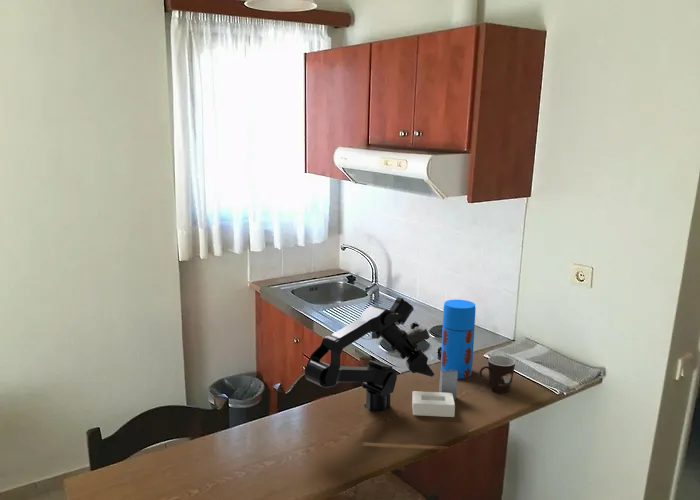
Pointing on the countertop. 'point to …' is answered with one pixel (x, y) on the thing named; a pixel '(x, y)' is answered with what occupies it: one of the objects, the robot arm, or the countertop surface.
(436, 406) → the slot box
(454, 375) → the grey rectangular block
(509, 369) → the coffee mug
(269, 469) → the countertop surface
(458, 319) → the thermos
